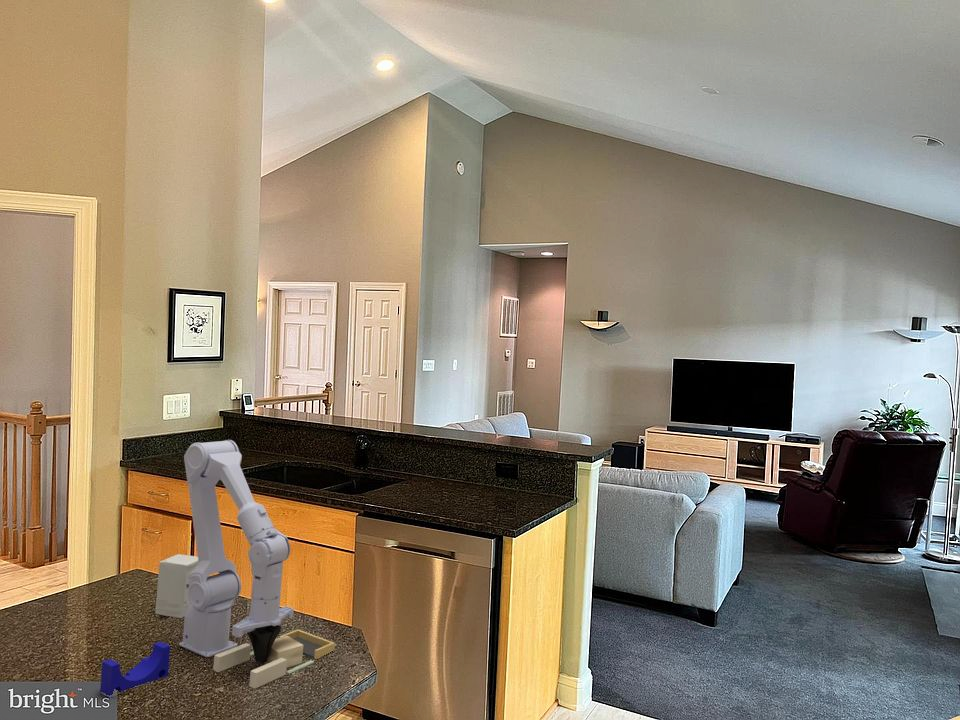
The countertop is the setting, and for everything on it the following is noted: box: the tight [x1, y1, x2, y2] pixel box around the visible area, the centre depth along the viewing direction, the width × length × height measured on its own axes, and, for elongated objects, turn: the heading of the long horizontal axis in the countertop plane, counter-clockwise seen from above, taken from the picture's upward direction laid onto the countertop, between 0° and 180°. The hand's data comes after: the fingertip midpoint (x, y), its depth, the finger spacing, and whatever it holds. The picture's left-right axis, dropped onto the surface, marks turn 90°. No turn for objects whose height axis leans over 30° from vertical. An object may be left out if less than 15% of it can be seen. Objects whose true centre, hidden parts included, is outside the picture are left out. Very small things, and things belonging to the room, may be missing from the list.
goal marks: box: [250, 650, 315, 675], centre depth 152 cm, size 13×7×1 cm, turn 59°
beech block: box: [264, 636, 304, 669], centre depth 151 cm, size 6×6×4 cm
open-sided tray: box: [278, 629, 336, 660], centre depth 159 cm, size 11×6×2 cm, turn 59°
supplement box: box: [154, 553, 199, 619], centre depth 173 cm, size 7×7×13 cm
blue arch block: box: [99, 641, 171, 696], centre depth 137 cm, size 12×4×6 cm, turn 149°
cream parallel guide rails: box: [212, 642, 287, 689], centre depth 145 cm, size 12×8×3 cm, turn 59°
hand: (260, 661), depth 147 cm, fingers closed
